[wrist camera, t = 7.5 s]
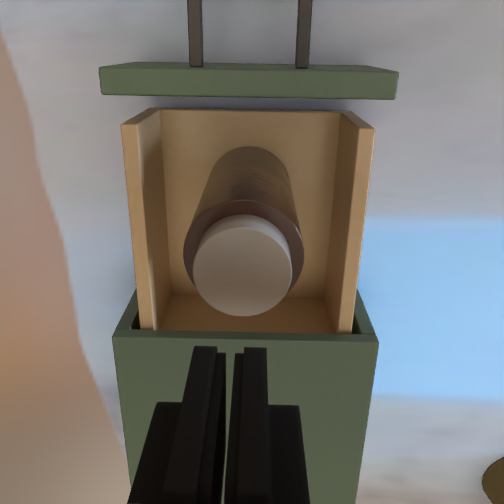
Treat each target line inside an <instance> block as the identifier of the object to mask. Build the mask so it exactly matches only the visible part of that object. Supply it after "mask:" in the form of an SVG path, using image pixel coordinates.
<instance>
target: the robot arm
mask: <svg viewBox="0 0 504 504" xmlns="http://www.w3.org/2000/svg"><path fill="white" fill-rule="evenodd" d="M225 453H226V353H220V352H218V349H217V346H194V348H193V353H192V357H191V362H190V367H189V371H188V376H187V380H186V385H185V390H184V394H183V399H182V402H157V404H156V406H155V409H154V412H153V416H152V419H151V423H150V426H149V429H148V433H147V436H146V440H145V443H144V447H143V450H142V454H141V457H140V461H139V464H138V468H137V471H136V475H135V478H134V482H133V485H132V488H131V492H130V495H129V499H128V503H127V504H221V502H222V490H223V477H224V465H225ZM224 504H310V497H309V488H308V479H307V470H306V461H305V452H304V443H303V434H302V425H301V416H300V409H299V405H270V404H268V379H267V348H265V347H244V353H235V359H234V372H233V384H232V397H231V410H230V423H229V435H228V448H227V461H226V474H225V490H224Z"/></svg>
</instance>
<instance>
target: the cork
mask: <svg viewBox="0 0 504 504" xmlns="http://www.w3.org/2000/svg"><path fill="white" fill-rule="evenodd" d="M482 486H483V490H484V492H485V493H486V495H487V496H488V498H489V499H490V500H491V502H492V503H493V504H504V458H502V459H500V460H498V461H496V462H495V463H494V464H493V465H492V466H490V467H489V468H488V470H487V471H486V473H485V474H484V476H483V480H482Z"/></svg>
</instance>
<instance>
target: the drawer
mask: <svg viewBox="0 0 504 504" xmlns="http://www.w3.org/2000/svg"><path fill="white" fill-rule="evenodd" d="M187 8H188V35H189V62H190V63H176V62H132V63H124V64H117V65H110V66H102V67H99V77H100V86H101V93H102V94H103V95H136V96H196V97H257V98H317V99H377V100H394V99H395V98H396V92H397V84H398V76H399V73H398V72H397V71H392V70H387V69H381V68H376V67H371V66H364V65H309V50H310V33H311V16H312V0H298V16H297V37H296V58H295V64H239V63H203V27H202V0H187ZM121 133H122V144H123V154H124V164H125V175H126V185H127V195H128V206H129V216H130V226H131V237H132V247H133V257H134V268H135V278H136V288H137V299H138V309H139V319H140V330H177V331H225V332H273V333H321V334H351V332H352V323H353V315H354V306H355V298H356V289H357V281H358V273H359V264H360V256H361V247H362V239H363V230H364V222H365V213H366V205H367V197H368V188H369V180H370V171H371V163H372V154H373V146H374V137H375V128H373V127H372V126H371V125H369V124H368V123H367V122H365V121H364V120H362V119H361V118H360V117H358V116H357V115H356V114H354V113H353V112H352V111H313V110H253V109H194V108H149V109H147V110H145V111H143V112H142V113H140V114H138V115H136V116H135V117H133V118H131V119H129V120H128V121H126V122H124V123H122V124H121ZM244 146H253V147H259V148H262V149H265V150H267V151H269V152H271V153H272V154H274V155H275V156H276V157H277V158H278V159H279V160H280V161H281V162H282V163H283V165H284V167H285V168H286V171H287V173H288V176H289V180H290V185H291V189H292V194H293V199H294V203H295V208H296V212H297V217H298V222H299V226H300V231H301V235H302V240H303V245H304V265H303V269H302V272H301V274H300V277H299V279H298V280H297V282H296V284H295V285H294V286H293V288H292V289H291V290H290V291H289V292H288V293H287V294H286V295H285V296H284V297H283V298H282V300H281V301H280V302H279V303H278V304H277V305H275V306H274V307H273V308H271V309H269V310H267V311H266V312H263V313H261V314H257V315H252V316H234V315H229V314H226V313H223V312H221V311H219V310H217V309H215V308H213V307H212V306H211V305H209V304H208V303H207V302H206V301H205V300H204V299H203V297H202V296H201V295H200V293H199V292H198V290H197V288H196V287H195V286H194V285H193V283H192V282H191V280H190V278H189V277H188V274H187V272H186V269H185V265H184V260H183V247H184V241H185V238H186V235H187V232H188V230H189V227H190V224H191V222H192V219H193V217H194V214H195V211H196V209H197V206H198V204H199V201H200V199H201V196H202V193H203V191H204V188H205V186H206V183H207V181H208V178H209V175H210V173H211V170H212V168H213V166H214V165H215V163H216V162H217V161H218V160H219V158H220V157H222V156H223V155H224V154H225V153H227V152H228V151H231V150H233V149H235V148H238V147H244Z"/></svg>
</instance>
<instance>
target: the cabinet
mask: <svg viewBox="0 0 504 504" xmlns="http://www.w3.org/2000/svg"><path fill="white" fill-rule="evenodd" d="M112 342H113V350H114V358H115V366H116V374H117V382H118V390H119V397H120V405H121V413H122V421H123V429H124V437H125V445H126V453H127V461H128V468H129V476H130V484H131V488H132V485H133V482H134V478H135V475H136V471H137V468H138V464H139V461H140V457H141V454H142V450H143V447H144V443H145V440H146V436H147V433H148V429H149V426H150V423H151V419H152V416H153V412H154V409H155V406H156V404H157V402H182V399H183V394H184V390H185V385H186V380H187V376H188V371H189V367H190V362H191V357H192V353H193V348H194V346H217V349H218V352H220V353H226V453H225V465H224V477H223V490H222V502H221V504H224V490H225V474H226V461H227V448H228V435H229V423H230V410H231V397H232V384H233V372H234V359H235V353H244V347H265V348H267V379H268V404H270V405H299V409H300V416H301V425H302V434H303V443H304V452H305V461H306V470H307V479H308V488H309V497H310V504H355V502H356V495H357V489H358V482H359V475H360V468H361V462H362V455H363V448H364V441H365V435H366V428H367V421H368V414H369V408H370V401H371V394H372V387H373V381H374V374H375V367H376V360H377V354H378V347H379V341H378V339H377V336H376V334H375V331H374V329H373V326H372V324H371V321H370V319H369V316H368V314H367V311H366V309H365V306H364V304H363V301H362V299H361V296H360V294H359V291H358V289H356V298H355V306H354V315H353V323H352V332H351V334H321V333H273V332H225V331H177V330H140V319H139V309H138V299H137V288H136V290H135V292H134V294H133V296H132V298H131V300H130V302H129V304H128V306H127V308H126V310H125V312H124V314H123V316H122V317H121V319H120V321H119V323H118V325H117V327H116V330H115V332H114V334H113V336H112Z"/></svg>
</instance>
